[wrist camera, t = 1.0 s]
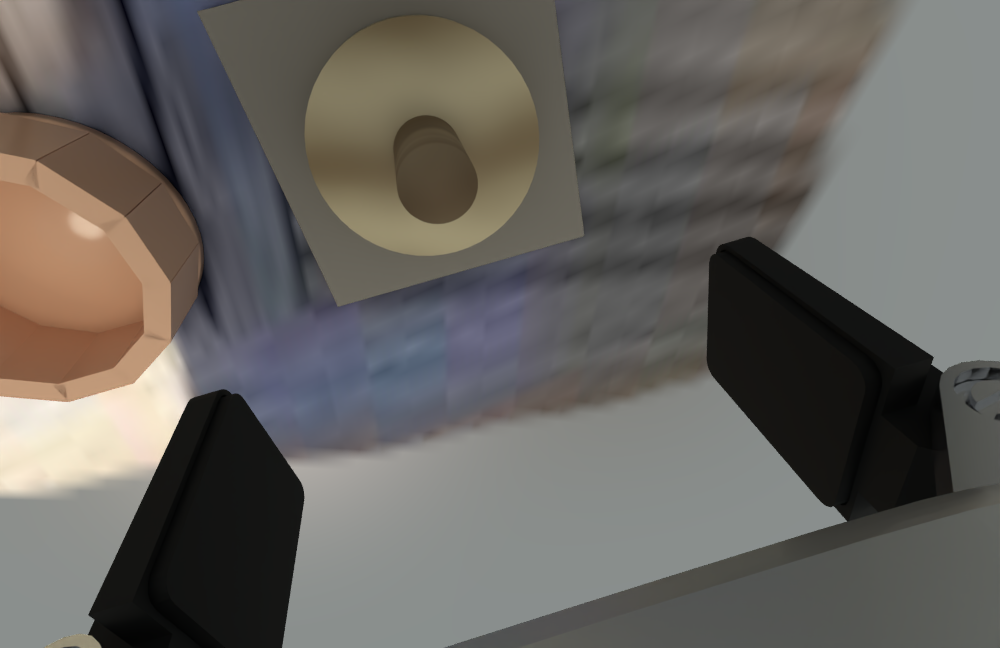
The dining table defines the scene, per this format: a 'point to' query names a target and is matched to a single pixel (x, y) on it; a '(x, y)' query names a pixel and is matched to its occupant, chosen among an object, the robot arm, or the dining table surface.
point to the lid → (421, 135)
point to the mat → (284, 99)
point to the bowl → (86, 260)
